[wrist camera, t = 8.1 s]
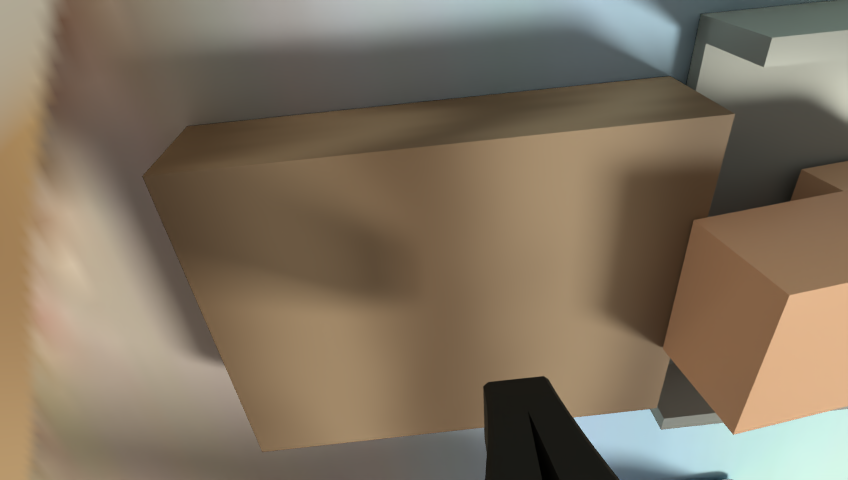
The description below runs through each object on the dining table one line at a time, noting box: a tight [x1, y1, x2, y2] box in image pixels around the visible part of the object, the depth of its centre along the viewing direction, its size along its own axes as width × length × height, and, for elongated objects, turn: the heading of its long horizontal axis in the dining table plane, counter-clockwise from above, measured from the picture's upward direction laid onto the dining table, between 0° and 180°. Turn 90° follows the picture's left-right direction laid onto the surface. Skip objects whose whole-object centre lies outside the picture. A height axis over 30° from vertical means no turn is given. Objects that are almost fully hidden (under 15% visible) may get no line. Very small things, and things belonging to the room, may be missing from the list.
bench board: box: [142, 76, 735, 452], centre depth 15 cm, size 13×10×3 cm
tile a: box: [663, 190, 848, 435], centre depth 13 cm, size 4×4×3 cm
